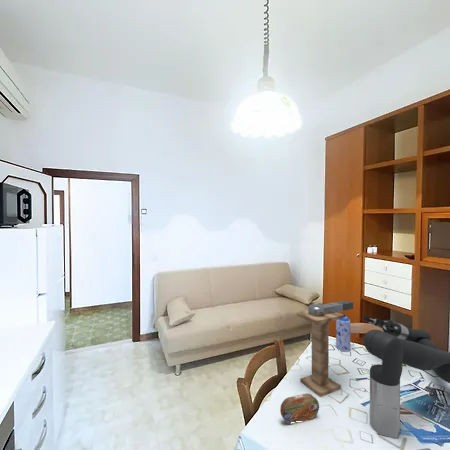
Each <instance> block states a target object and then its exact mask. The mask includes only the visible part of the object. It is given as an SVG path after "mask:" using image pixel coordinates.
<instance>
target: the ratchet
mask: <svg viewBox="0 0 450 450" xmlns="http://www.w3.org/2000/svg"><path fill="white" fill-rule="evenodd" d="M353 309H354V302H353V301H349V300H347V299H344V300H340V301H335V302H334V301H333V302H330V303H324V304H319V302H314V303H313V304H309V306H308V307H307V310H308V314H309V315H312V316H314V317H322V316H324V315H326V314H331V313H336V312H337V313H341V312H345V311H349V310H353Z"/></svg>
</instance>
